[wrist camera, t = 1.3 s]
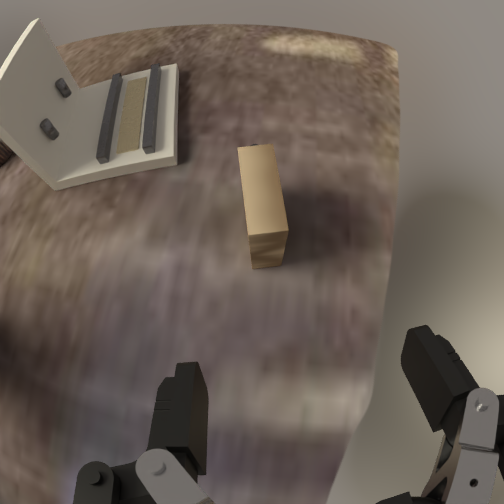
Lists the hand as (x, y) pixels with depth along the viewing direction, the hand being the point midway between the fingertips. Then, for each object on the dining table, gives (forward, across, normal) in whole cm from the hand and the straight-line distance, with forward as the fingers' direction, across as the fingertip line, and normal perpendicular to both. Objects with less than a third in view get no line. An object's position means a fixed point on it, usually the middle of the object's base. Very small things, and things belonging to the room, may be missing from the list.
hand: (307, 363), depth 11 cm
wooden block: (+24, 0, +5) cm, 24 cm away
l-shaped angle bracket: (+37, +18, -9) cm, 42 cm away
